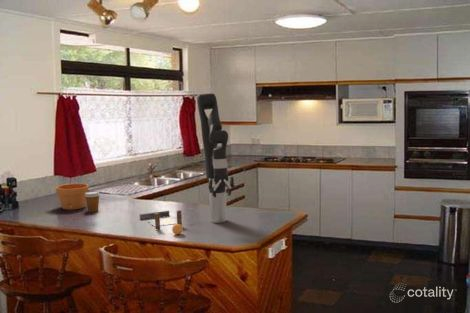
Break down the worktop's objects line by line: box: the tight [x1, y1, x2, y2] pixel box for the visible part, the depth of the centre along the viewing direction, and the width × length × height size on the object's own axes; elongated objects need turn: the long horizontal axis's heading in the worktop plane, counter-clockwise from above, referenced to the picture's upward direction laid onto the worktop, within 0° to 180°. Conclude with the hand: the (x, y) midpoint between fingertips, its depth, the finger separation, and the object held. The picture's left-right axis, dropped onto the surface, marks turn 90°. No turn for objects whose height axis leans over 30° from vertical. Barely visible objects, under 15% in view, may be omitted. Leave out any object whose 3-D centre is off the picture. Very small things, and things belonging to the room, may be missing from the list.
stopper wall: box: [139, 210, 170, 220], centre depth 325 cm, size 2×18×3 cm, turn 114°
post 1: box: [154, 213, 161, 230], centre depth 296 cm, size 3×3×9 cm
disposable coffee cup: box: [85, 190, 100, 213], centre depth 350 cm, size 10×10×12 cm
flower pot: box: [55, 183, 90, 211], centre depth 362 cm, size 21×21×15 cm
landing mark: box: [162, 217, 177, 226], centre depth 312 cm, size 14×14×1 cm
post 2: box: [176, 209, 183, 227], centre depth 301 cm, size 3×3×9 cm
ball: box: [171, 224, 184, 236], centre depth 284 cm, size 6×6×6 cm
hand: (222, 196), depth 294 cm, fingers open, 8 cm apart
